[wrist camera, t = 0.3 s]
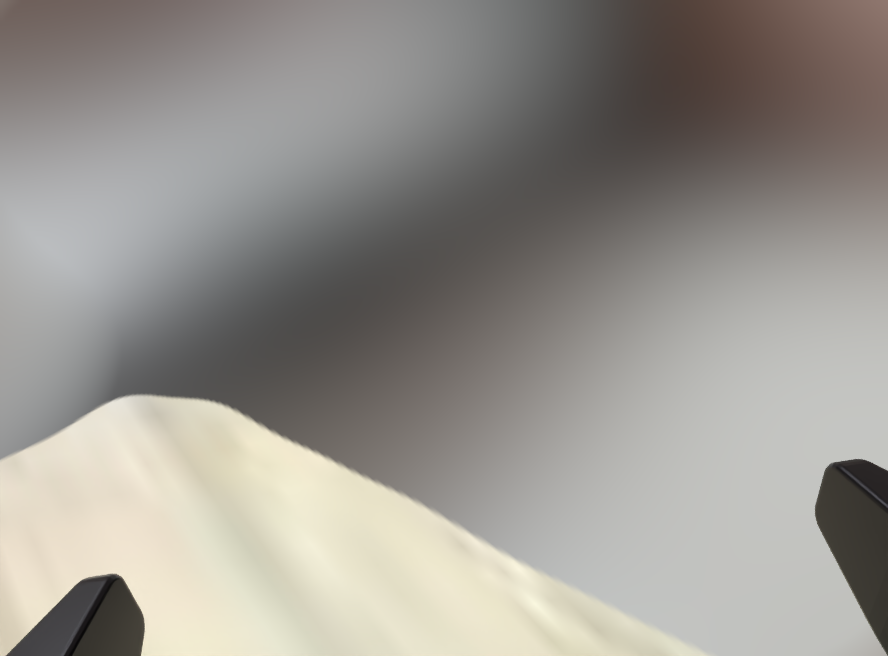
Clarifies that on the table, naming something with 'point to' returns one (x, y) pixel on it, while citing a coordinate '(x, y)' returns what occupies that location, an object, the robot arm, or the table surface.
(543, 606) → the table surface
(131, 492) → the table surface
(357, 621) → the table surface
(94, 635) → the robot arm
